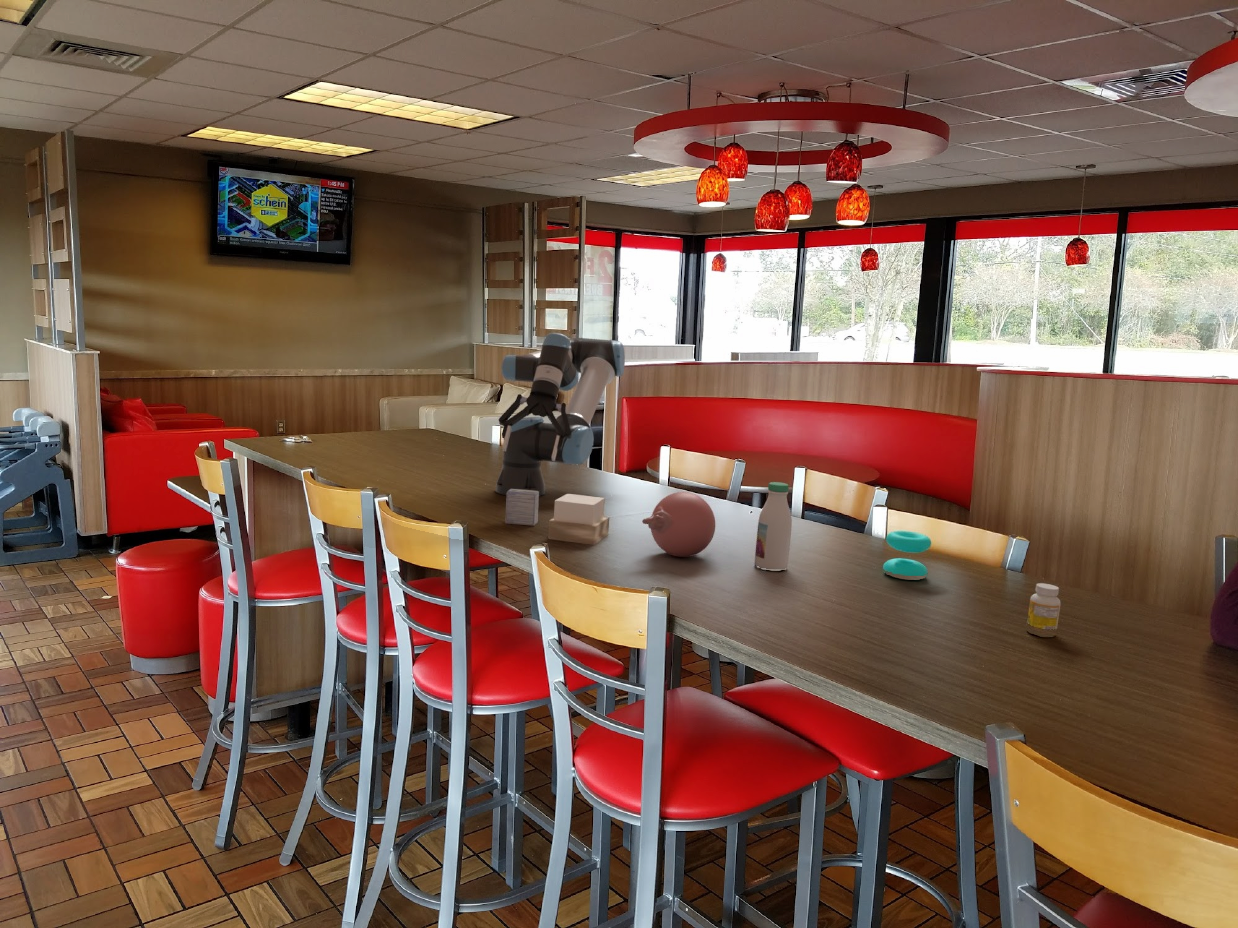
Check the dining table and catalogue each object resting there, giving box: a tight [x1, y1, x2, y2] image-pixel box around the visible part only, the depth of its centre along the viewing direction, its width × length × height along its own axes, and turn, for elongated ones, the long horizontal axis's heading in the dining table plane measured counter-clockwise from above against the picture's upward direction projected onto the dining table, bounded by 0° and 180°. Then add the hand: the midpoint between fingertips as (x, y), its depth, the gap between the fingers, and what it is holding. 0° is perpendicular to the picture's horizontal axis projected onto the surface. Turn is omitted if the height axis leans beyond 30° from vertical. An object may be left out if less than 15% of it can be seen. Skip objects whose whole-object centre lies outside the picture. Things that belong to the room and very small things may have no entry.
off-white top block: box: [553, 493, 606, 525], centre depth 231 cm, size 10×10×5 cm
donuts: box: [882, 530, 932, 576], centre depth 214 cm, size 10×10×10 cm
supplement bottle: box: [1026, 582, 1061, 630], centre depth 178 cm, size 5×5×10 cm
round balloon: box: [642, 491, 716, 558], centre depth 217 cm, size 15×20×15 cm
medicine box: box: [504, 489, 540, 526], centre depth 242 cm, size 8×4×9 cm, turn 84°
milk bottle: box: [754, 481, 793, 569], centre depth 213 cm, size 8×8×20 cm
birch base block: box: [547, 516, 610, 546], centre depth 232 cm, size 12×12×5 cm
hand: (528, 454), depth 249 cm, fingers open, 13 cm apart
